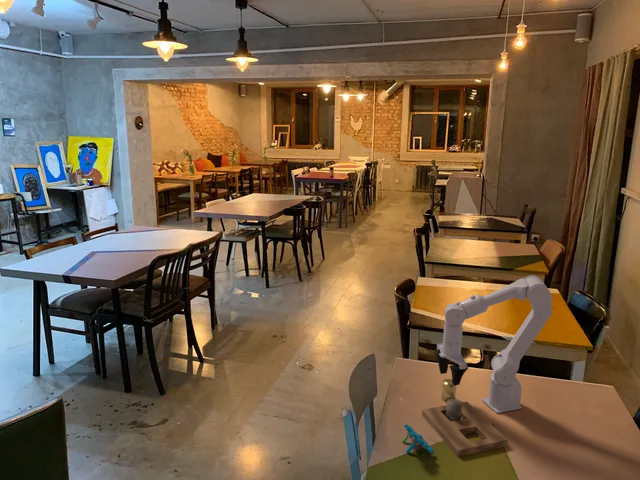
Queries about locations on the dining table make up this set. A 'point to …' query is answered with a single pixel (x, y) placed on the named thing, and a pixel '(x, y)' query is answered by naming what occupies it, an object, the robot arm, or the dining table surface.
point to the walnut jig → (463, 427)
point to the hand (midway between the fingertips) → (449, 378)
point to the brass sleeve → (448, 390)
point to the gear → (415, 440)
